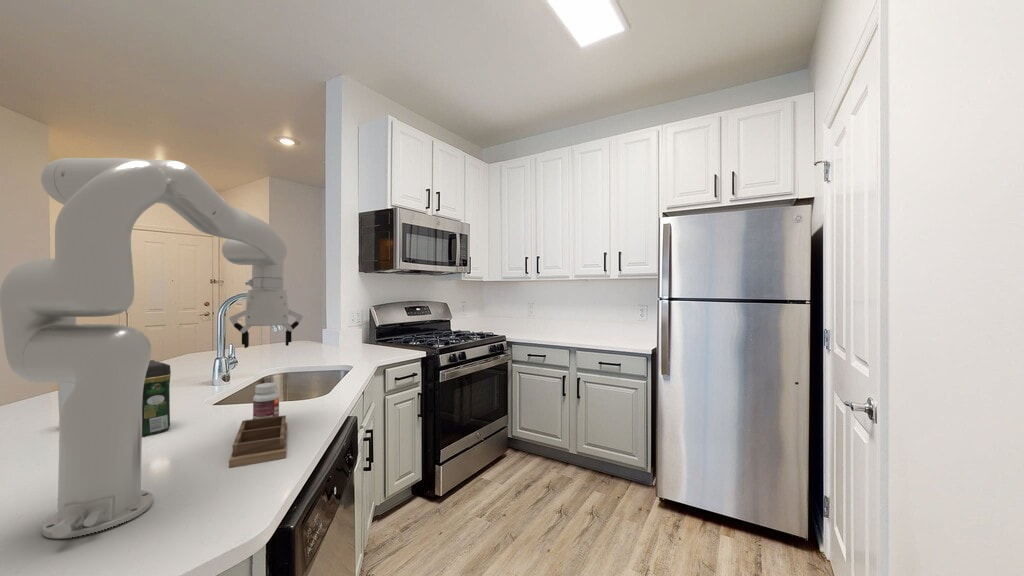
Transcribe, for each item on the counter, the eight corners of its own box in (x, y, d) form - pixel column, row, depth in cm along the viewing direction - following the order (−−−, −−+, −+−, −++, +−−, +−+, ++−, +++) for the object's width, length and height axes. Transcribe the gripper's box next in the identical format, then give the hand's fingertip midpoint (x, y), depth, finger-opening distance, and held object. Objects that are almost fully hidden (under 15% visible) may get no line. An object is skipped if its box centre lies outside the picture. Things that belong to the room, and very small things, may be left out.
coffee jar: (121, 432, 103) (122, 361, 103) (160, 423, 110) (161, 357, 110) (134, 439, 98) (136, 365, 98) (174, 430, 105) (175, 360, 105)
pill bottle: (279, 426, 108) (280, 385, 108) (252, 430, 105) (253, 388, 105) (278, 420, 114) (278, 381, 114) (252, 424, 110) (253, 383, 110)
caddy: (285, 458, 88) (285, 440, 88) (228, 467, 83) (229, 448, 83) (287, 427, 107) (287, 413, 107) (241, 434, 102) (241, 418, 102)
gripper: (228, 284, 102) (227, 350, 102) (303, 285, 111) (302, 346, 111) (232, 284, 109) (231, 346, 109) (302, 285, 117) (302, 342, 117)
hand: (267, 346), depth 110 cm, fingers open, 9 cm apart
